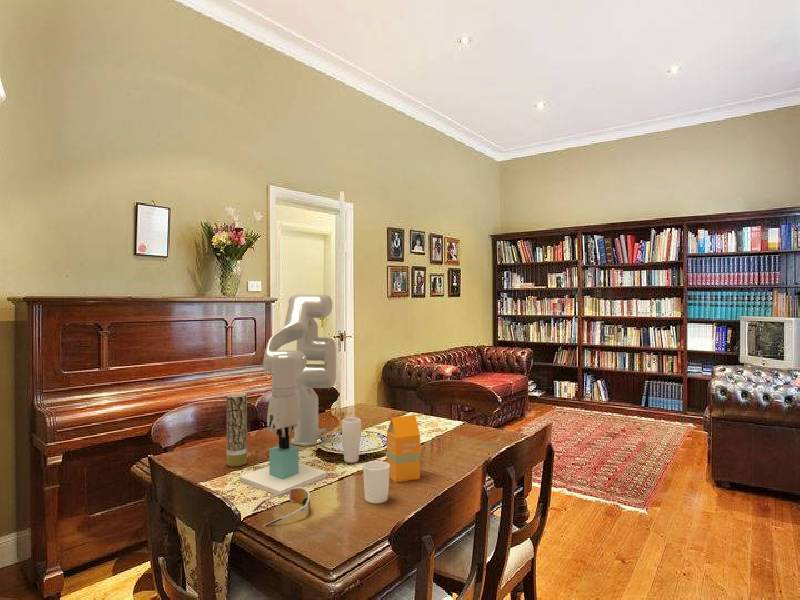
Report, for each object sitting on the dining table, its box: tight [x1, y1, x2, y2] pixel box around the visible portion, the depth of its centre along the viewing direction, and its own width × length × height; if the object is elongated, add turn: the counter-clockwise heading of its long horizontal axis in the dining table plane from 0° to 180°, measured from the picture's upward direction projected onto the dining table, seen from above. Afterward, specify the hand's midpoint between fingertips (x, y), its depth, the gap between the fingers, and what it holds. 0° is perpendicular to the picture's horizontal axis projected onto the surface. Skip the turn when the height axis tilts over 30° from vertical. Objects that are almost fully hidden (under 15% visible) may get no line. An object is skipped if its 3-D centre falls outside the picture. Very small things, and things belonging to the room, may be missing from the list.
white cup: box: [362, 460, 390, 504], centre depth 145 cm, size 8×8×10 cm
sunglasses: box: [251, 487, 311, 527], centre depth 136 cm, size 14×15×5 cm
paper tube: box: [226, 391, 248, 468], centre depth 174 cm, size 7×7×25 cm
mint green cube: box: [268, 444, 300, 479], centre depth 160 cm, size 7×7×9 cm
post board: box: [238, 463, 329, 497], centre depth 160 cm, size 20×20×2 cm
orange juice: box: [386, 414, 421, 483], centre depth 163 cm, size 8×9×20 cm
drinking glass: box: [341, 416, 362, 464], centre depth 178 cm, size 7×7×15 cm
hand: (284, 447), depth 160 cm, fingers closed
